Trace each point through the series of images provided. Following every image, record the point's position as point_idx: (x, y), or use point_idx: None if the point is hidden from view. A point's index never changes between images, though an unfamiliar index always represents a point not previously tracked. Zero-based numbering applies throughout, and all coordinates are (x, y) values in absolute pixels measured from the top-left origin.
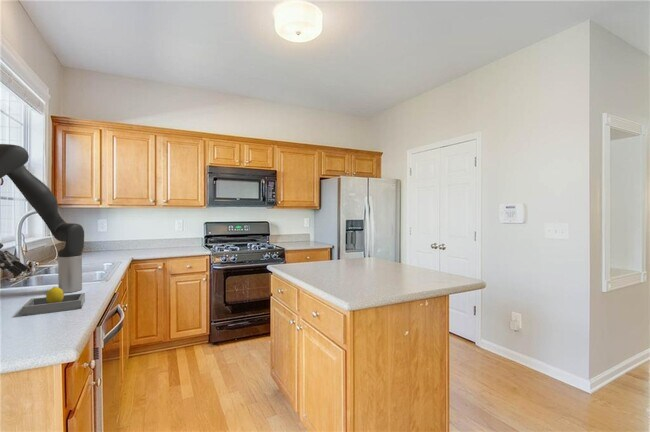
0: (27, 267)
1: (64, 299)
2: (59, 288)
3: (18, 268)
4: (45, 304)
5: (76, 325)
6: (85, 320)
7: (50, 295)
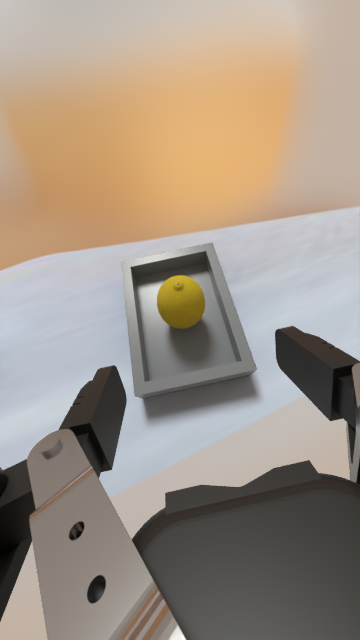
0: (111, 366)
1: (138, 308)
2: (177, 276)
3: (299, 343)
4: (236, 312)
5: (346, 225)
6: (311, 222)
7: (204, 301)
